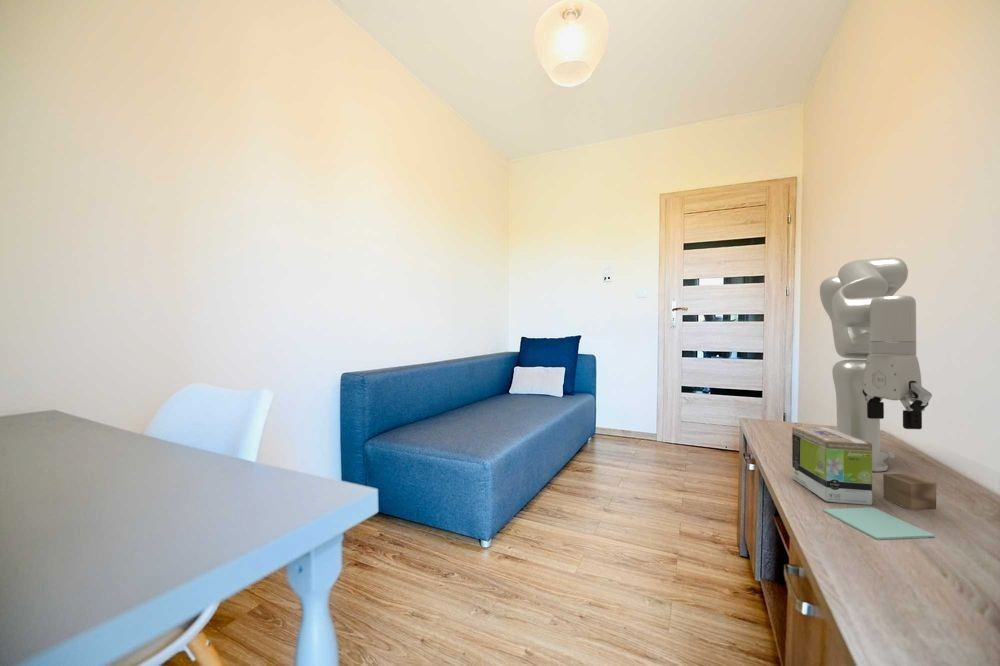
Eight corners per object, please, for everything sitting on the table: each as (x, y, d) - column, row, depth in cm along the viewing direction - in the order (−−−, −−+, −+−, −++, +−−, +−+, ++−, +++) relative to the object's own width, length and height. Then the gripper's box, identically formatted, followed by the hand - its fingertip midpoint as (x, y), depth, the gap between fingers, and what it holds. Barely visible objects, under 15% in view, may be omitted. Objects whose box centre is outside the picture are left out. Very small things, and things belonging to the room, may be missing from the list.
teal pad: (872, 509, 87) (872, 507, 87) (934, 537, 75) (934, 535, 75) (822, 510, 87) (822, 509, 87) (876, 539, 75) (876, 537, 75)
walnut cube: (907, 498, 93) (906, 473, 93) (936, 509, 87) (936, 483, 87) (883, 498, 93) (883, 474, 93) (911, 510, 87) (910, 484, 87)
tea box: (874, 506, 89) (874, 442, 89) (825, 502, 91) (824, 440, 91) (832, 481, 104) (832, 426, 104) (790, 478, 106) (790, 425, 106)
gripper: (846, 347, 98) (846, 414, 98) (907, 351, 80) (908, 433, 81) (879, 347, 96) (880, 415, 97) (949, 351, 79) (949, 433, 79)
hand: (892, 423), depth 89 cm, fingers open, 9 cm apart
